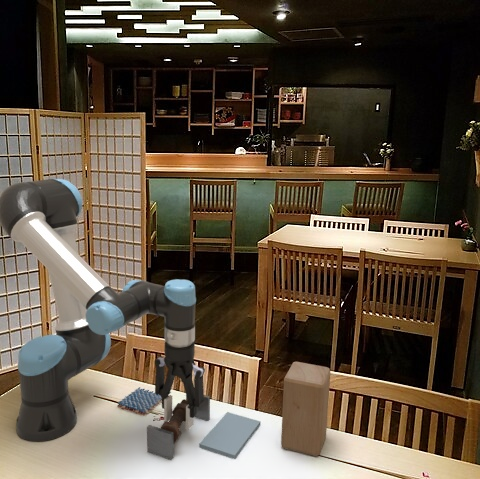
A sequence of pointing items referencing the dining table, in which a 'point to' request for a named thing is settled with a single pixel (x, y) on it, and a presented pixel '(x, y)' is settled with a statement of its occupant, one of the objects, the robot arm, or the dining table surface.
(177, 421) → the bolt
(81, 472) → the dining table surface
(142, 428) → the dining table surface
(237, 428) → the slate pad
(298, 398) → the wooden block
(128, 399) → the woven mat
